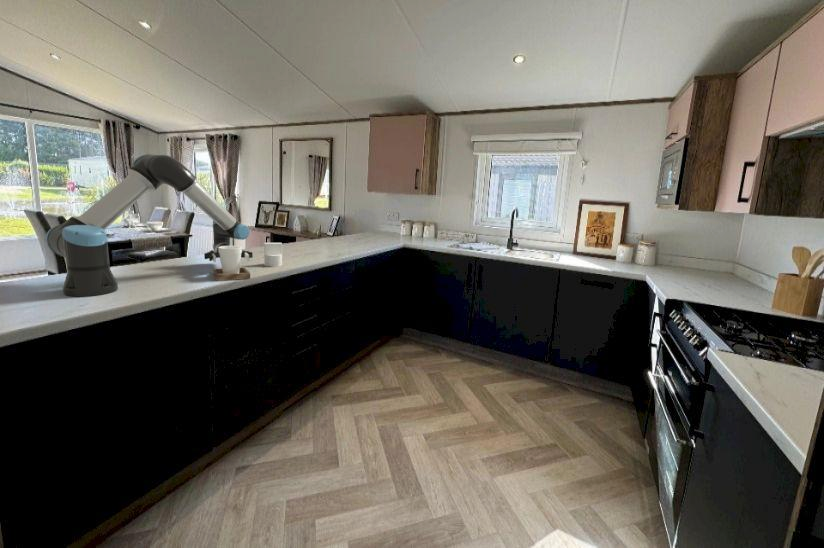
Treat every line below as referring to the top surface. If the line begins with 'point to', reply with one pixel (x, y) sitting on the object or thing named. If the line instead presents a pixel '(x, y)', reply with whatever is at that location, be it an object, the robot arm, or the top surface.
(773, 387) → the top surface
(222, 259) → the foam cup
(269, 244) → the glass of milk
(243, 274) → the walnut frame
